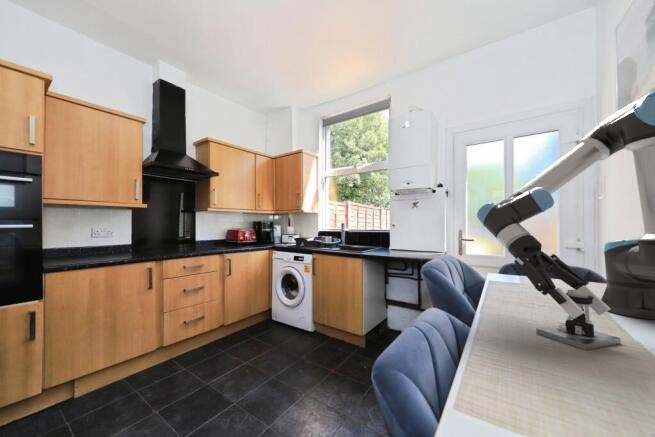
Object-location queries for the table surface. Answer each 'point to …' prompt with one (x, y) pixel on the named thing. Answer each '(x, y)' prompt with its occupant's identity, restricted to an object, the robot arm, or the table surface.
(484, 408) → the table surface
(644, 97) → the robot arm
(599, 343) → the flange plate
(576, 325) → the push button
